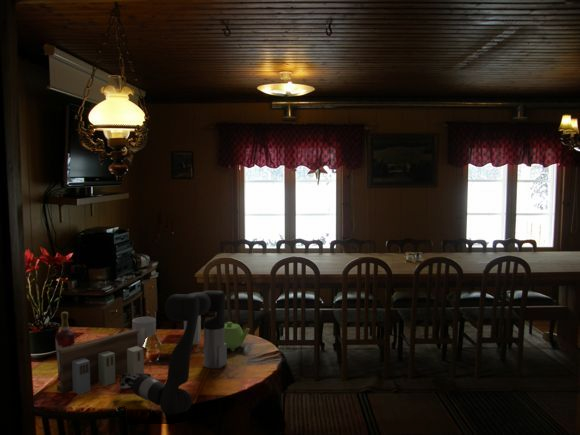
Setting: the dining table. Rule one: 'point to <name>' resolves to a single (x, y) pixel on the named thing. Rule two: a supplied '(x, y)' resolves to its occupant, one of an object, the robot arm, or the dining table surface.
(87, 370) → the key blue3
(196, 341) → the milk carton
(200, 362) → the dining table surface
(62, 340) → the liquor
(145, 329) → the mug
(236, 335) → the teapot
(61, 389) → the backboard
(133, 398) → the dining table surface
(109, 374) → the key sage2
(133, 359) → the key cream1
